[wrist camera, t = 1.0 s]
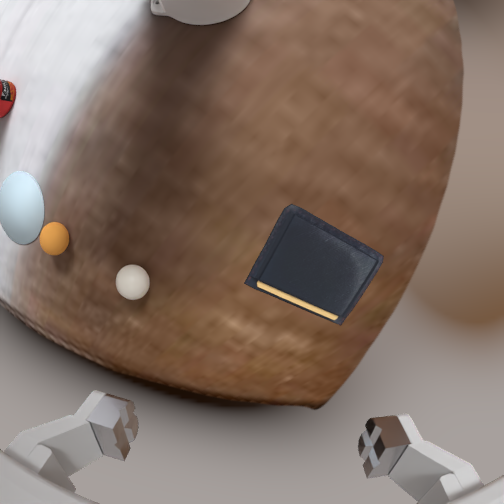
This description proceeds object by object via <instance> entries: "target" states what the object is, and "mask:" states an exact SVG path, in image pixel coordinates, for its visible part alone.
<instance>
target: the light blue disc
mask: <svg viewBox="0 0 504 504" xmlns="http://www.w3.org/2000/svg"><path fill="white" fill-rule="evenodd" d="M0 221H1V224H2V227H3V229H4V231H5V232H6V234H7V235H8V236H9V238H10V239H12V240H13V241H14V242H16V243H18V244H28V243H31V242H32V241H34V240H35V239H36V238H37V236H38V235H39V233H40V231H41V229H42V226H43V221H44V200H43V195H42V192H41V189H40V187H39V185H38V183H37V181H36V180H35V179H34V178H33V177H32V176H31V175H30V174H29V173H27V172H24V171H17V172H14V173H12V174H11V175H9V176H8V177H7V178H6V180H5V181H4V183H3V185H2V187H1V190H0Z"/></svg>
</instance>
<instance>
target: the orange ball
mask: <svg viewBox="0 0 504 504" xmlns="http://www.w3.org/2000/svg"><path fill="white" fill-rule="evenodd" d="M68 243H69V234H68V231H67V229H66V228H65V226H64V225H62V224H61V223H58V222H52V223H49V224H47V225H46V226H45V227H44V228H43V229H42V231H41V234H40V244H41V247H42V249H43V250H44V251H45V252H46V253H48V254H50V255H59V254H61V253H62V252H64V251H65V249H66V248H67V246H68Z"/></svg>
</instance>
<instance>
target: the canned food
mask: <svg viewBox="0 0 504 504" xmlns="http://www.w3.org/2000/svg"><path fill="white" fill-rule="evenodd" d="M15 96H16V88H15V86H14V84H12V83H11V82H9V81H5V80H1V79H0V118H2V117H4V116H5V115H6V114H7V113H8V112H9V111H10V109H11V107H12V105H13V103H14V100H15Z"/></svg>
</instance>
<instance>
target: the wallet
mask: <svg viewBox="0 0 504 504" xmlns="http://www.w3.org/2000/svg"><path fill="white" fill-rule="evenodd" d="M383 257H384V256H383V255H381V254H380V253H378V252H377V251H375V250H374V249H372V248H370V247H369V246H367V245H365V244H363V243H362V242H360V241H358V240H356V239H354V238H353V237H351V236H349V235H347V234H345V233H344V232H342V231H340V230H338V229H337V228H335V227H333V226H332V225H330V224H328V223H326V222H325V221H323V220H321V219H319V218H318V217H316V216H314V215H313V214H311V213H309V212H307V211H306V210H304V209H302V208H300V207H298V206H295V205H293V204H291V205H289V206H287V207H286V208H284V210H283V212H282V213H281V215H280V217H279V219H278V220H277V222H276V224H275V226H274V228H273V230H272V232H271V234H270V236H269V238H268V240H267V242H266V244H265V246H264V248H263V249H262V251H261V253H260V255H259V257H258V258H257V260H256V262H255V264H254V266H253V268H252V269H251V271H250V273H249V275H248V277H247V279H246V281H245V283H244V284H246V285H248V286H250V287H252V288H254V289H256V290H259V291H261V292H264V293H266V294H269V295H271V296H274V297H276V298H278V299H280V300H283V301H285V302H287V303H290V304H292V305H294V306H296V307H299V308H301V309H303V310H306V311H308V312H310V313H313V314H315V315H318V316H320V317H322V318H325V319H327V320H329V321H332V322H334V323H337V324H339V325H342V323H343V322H344V320H345V319H346V317H347V316H348V315H349V314H350V312H351V311H352V310H353V308H354V307H355V305H356V304H357V302H358V301H359V299H360V298H361V296H362V295H363V293H364V292H365V290H366V289H367V287H368V286H369V284H370V283H371V281H372V279H373V278H374V276H375V275H376V273H377V271H378V270H379V268H380V266H381V264H382V263H383Z"/></svg>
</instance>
